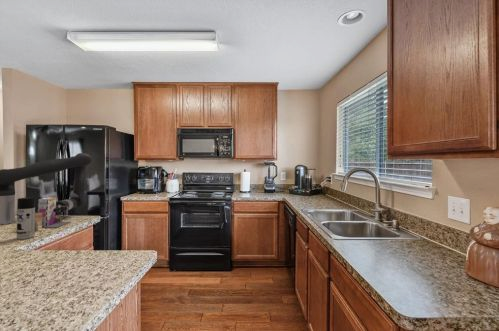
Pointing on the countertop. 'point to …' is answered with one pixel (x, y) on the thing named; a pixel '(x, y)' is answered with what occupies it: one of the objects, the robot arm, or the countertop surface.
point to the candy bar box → (47, 210)
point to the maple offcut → (39, 224)
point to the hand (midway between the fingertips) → (46, 210)
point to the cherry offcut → (38, 217)
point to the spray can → (25, 218)
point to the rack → (55, 222)
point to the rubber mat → (57, 225)
